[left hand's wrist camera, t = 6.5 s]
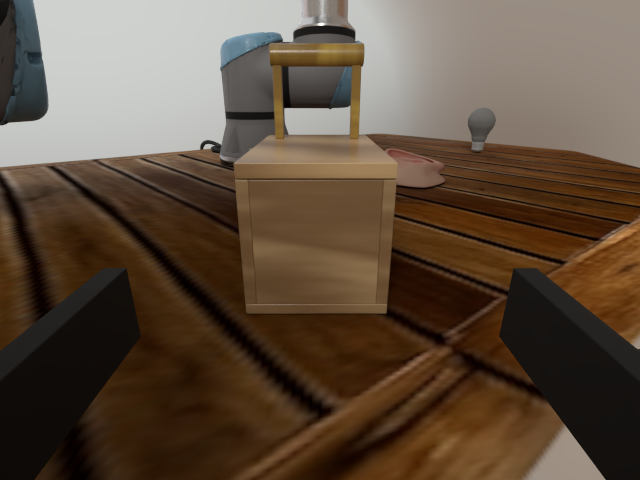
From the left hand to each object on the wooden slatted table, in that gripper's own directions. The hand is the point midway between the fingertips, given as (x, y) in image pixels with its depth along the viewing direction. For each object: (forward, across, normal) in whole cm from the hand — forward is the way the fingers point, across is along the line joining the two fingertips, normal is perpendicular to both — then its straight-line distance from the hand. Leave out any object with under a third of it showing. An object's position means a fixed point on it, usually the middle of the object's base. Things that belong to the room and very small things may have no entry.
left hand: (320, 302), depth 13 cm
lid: (+17, 0, +2) cm, 17 cm away
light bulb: (+80, +38, -6) cm, 89 cm away
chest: (+16, 0, -6) cm, 18 cm away
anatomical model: (+49, +15, -6) cm, 52 cm away
